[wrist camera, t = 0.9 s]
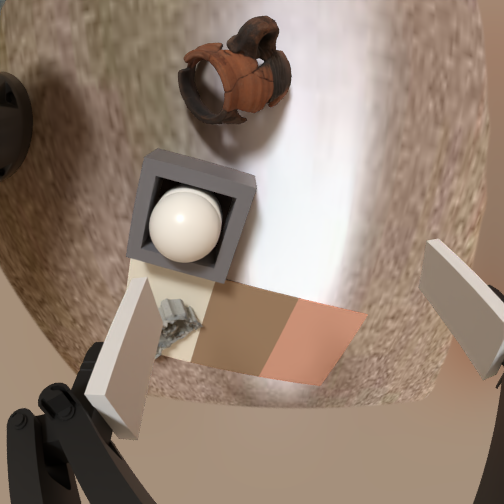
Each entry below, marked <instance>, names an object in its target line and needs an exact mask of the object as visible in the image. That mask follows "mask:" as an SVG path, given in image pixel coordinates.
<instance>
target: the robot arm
mask: <svg viewBox="0 0 504 504" xmlns="http://www.w3.org/2000/svg"><path fill="white" fill-rule="evenodd" d="M5 1H6V0H0V11H1V9H2V7H3V5H4V3H5ZM32 126H33V118H32V108H31V103H30V99H29V96H28V94H27V91H26V89H25V87H24V86H23V84H22V83H21V82H20V80H19V79H17V78H16V77H15V76H14V75H12V74H10V73H7V72H0V182H1V181H3V180H4V179H6V178H8V177H10V176H11V175H12V174H14V173H15V172H16V171H17V169H18V168H19V167H20V166H21V164H22V162H23V161H24V159H25V157H26V154H27V152H28V149H29V145H30V141H31V136H32ZM419 289H420V290H421V292H422V293H423V294H424V296H425V297H426V298H427V300H428V301H429V302H430V304H431V305H432V306H433V308H434V309H435V310H436V312H437V313H438V314H439V316H440V317H441V319H442V320H443V321H444V323H445V324H446V326H447V327H448V328H449V330H450V331H451V333H452V334H453V335H454V337H455V338H456V340H457V341H458V343H459V344H460V346H461V347H462V348H463V350H464V352H465V353H466V355H467V356H468V358H469V359H470V361H471V362H472V364H473V365H474V367H475V368H476V370H477V371H478V373H479V375H480V376H481V378H482V379H483V380H485V379H487V378H489V377H492V376H494V375H496V374H497V372H498V370H499V368H500V366H501V365H503V366H504V295H503V294H502V293H501V292H500V291H499V290H497V289H496V288H494V287H492V286H491V285H486V284H485V283H484V282H483V281H482V280H481V279H480V278H479V277H478V276H477V275H476V274H475V273H474V272H473V271H472V270H471V269H470V268H469V267H468V266H467V265H466V264H465V263H464V262H463V261H462V260H461V259H460V258H459V257H458V256H457V255H456V254H455V253H454V252H453V251H452V250H450V249H449V248H448V247H447V246H446V245H445V244H444V243H443V242H442V241H441V240H439V239H434V240H427V241H426V247H425V254H424V260H423V266H422V272H421V277H420V283H419ZM162 327H163V321H162V318H161V316H160V313H159V310H158V307H157V304H156V301H155V298H154V295H153V292H152V290H151V286H150V283H149V280H148V277H141V278H133V279H132V280H131V282H130V284H129V286H128V288H127V291H126V293H125V295H124V297H123V299H122V302H121V304H120V306H119V308H118V311H117V313H116V315H115V318H114V320H113V322H112V325H111V327H110V329H109V332H108V334H107V337H106V339H105V341H104V342H95V343H94V344H93V345H92V347H91V348H90V349H89V350H88V351H87V353H86V355H85V358H84V360H83V363H82V365H81V367H80V371H79V372H78V374H77V377H76V379H75V382H74V384H73V387H72V389H71V390H70V388H69V387H68V386H67V385H66V384H63V383H54V384H51V385H49V386H48V387H46V388H45V389H44V390H43V391H42V393H41V394H40V396H39V399H38V406H39V407H40V409H41V410H42V411H43V412H44V413H45V414H44V415H39V416H34V415H33V413H32V412H31V411H30V410H29V409H26V408H23V409H18V410H16V411H15V412H14V413H13V414H12V415H11V416H10V418H9V420H8V423H7V464H8V479H9V490H10V499H11V504H81V501H80V497H79V493H78V489H77V484H76V481H75V476H76V478H77V480H78V482H79V484H80V486H81V488H82V490H83V491H84V493H85V495H86V497H87V499H88V500H89V502H90V504H156V502H155V501H154V500H153V499H152V497H151V496H150V495H149V493H148V492H147V491H146V490H145V488H144V487H143V485H142V484H141V483H140V481H139V480H138V479H137V477H136V476H135V474H134V473H133V471H132V470H131V469H130V467H129V466H128V464H127V463H126V461H125V460H124V458H123V457H122V455H121V454H120V452H119V451H118V449H117V448H116V446H115V444H114V443H113V442H112V441H111V435H112V431H113V432H114V433H115V434H116V436H117V437H118V438H119V439H129V440H138V436H139V431H140V426H141V421H142V416H143V411H144V406H145V401H146V396H147V391H148V387H149V382H150V378H151V373H152V369H153V364H154V360H155V356H156V351H157V347H158V343H159V339H160V335H161V331H162ZM501 383H502V384H501ZM500 384H501V392H500V399H499V405H498V411H497V417H496V423H495V428H494V432H493V437H492V441H491V445H490V450H489V454H488V458H487V461H486V465H485V468H484V472H483V475H482V479H481V482H480V485H479V488H478V491H477V494H476V497H475V500H474V503H473V504H504V373H503V375H502V376H501V378H500V380H499V381H498V383H497V385H496V388H497V389H498V387H499V385H500ZM74 474H75V475H74Z"/></svg>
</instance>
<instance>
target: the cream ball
mask: <svg viewBox="0 0 504 504" xmlns="http://www.w3.org/2000/svg"><path fill="white" fill-rule="evenodd" d="M221 225H222V208H221V205H220V203H219V201H218V199H217V197H216V196H215V195H214V194H213V193H212V192H211V191H210V190H206V189H203V188H199V187H195V186H192V185H188V184H179V185H176V186H174V187H172V188H171V189H169V190H168V191H167V192H166V193H165V194H164V195H163V196H162V198H161V199H160V200H159V202H158V203H157V204H156V206H155V208H154V209H153V211H152V214H151V217H150V222H149V232H150V237H151V240H152V242H153V244H154V246H155V247H156V249H157V250H158V251H159V252H160V253H161V254H162V255H163V256H165V257H166V258H168V259H170V260H173V261H176V262H182V263H188V262H193V261H197V260H199V259H201V258H203V257H205V256H206V255H207V254H209V253H210V252H211V251H212V249H213V248H214V247H215V245H216V243H217V242H218V239H219V236H220V232H221Z"/></svg>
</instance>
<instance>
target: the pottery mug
mask: <svg viewBox="0 0 504 504" xmlns="http://www.w3.org/2000/svg"><path fill="white" fill-rule="evenodd" d="M278 34H279V28H278V26H277V23H276V22H275V20H273V19H271V18H270V17H268V16H258V17H255V18H252V19H250V20H248V21H247V22H246V23H245V24H244V25H243V26H242V27H241V28H240V30H239V32H238V34H237V35H234V36H232V37H231V38H230V39H229V40H228V41H227V47H228V49H229V50H221V49H222V47H223V44H222V43H208V44H205V45H202V46H199V47H198V48H196V49H195V50H192V51H190V52H188V53H187V54H186V55H185V57H184V61H185V62H186V63H188V66H187V68H186V69H182V70H180V71H179V72H178V82H179V88H180V92H181V95H182V97H183V100H184V101H185V104H186V105H187V108H188V109H189V110H190V111H191V113H192V114H193V115H194V116H195V117H196V118H197V119H199V120H200V121H202V122H205V123H208V124H212V125H213V124H222V123H227V124H241V123H244V122H246V121H247V119H246V118H244V117H241V116H240V115H239V113H238V111H237V109H239V110H241V111H246V112H251V113H256V112H257V111H260V110H262V109H263V108H264V106H265V104H266V103H269V104H268V106H269V107H273V106H275V105H276V104H277V103H278V102H279V101H280V100H281V99H282V98H283V97H284V96H285V95H286V93H287V92H288V90H289V87H290V84H291V77H292V75H291V67H290V63H289V61H288V60H287V58H286V56H285V54H284V53H283V51H279V50H276V39H277V37H278ZM258 58H260V59H262V60H264V63H263V64H262V65H261V66H260V67H258V62H257V60H256V59H258ZM202 59H205V60H207V61H209V62H210V63H211V64H212V65H213V66H214V68H215V69H216V70H217V72H218V74H219V76H220V78H221V81H222V83H223V88H224V91H225V93H224V104H223V109H222V110H221V112H220V113H219V114H217V115H215V114H213V113H212V112H210V111H209V110H208V108H207V107H206V106H205V105H204V103H203V102H202V101H201V100H200V95H199V93H198V91H197V88H196V85H195V81H194V80H195V79H194V76H195V68H196V64H197V63H198V62H199V61H201V60H202Z"/></svg>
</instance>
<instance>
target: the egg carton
mask: <svg viewBox="0 0 504 504" xmlns="http://www.w3.org/2000/svg"><path fill="white" fill-rule="evenodd" d="M158 310H159V313H160V316H161V318H162V321H163V327H162V331H161V335H160V339H159V343H158V347H157V351H156V356H155V359H157V358H158V357H159V356H160V355H161V353H162V350H163V349H166V348H169V347H171V344H173V343H174V342H176V341H177V340H180V339H183V338H184V337H185V336H187V335H188V334H189V333H190V332H191V331H193V330H194V329H195V330H197V329H198V328H201V327H203V326H202V325H201V323H200V322H198V320H197V317H196V315H195V312H194V309H193V308H192V307H191V306H189V307H185V305H184V302H183V300H181V299H165V300H163V301H161V305H160V307H159V308H158Z"/></svg>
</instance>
